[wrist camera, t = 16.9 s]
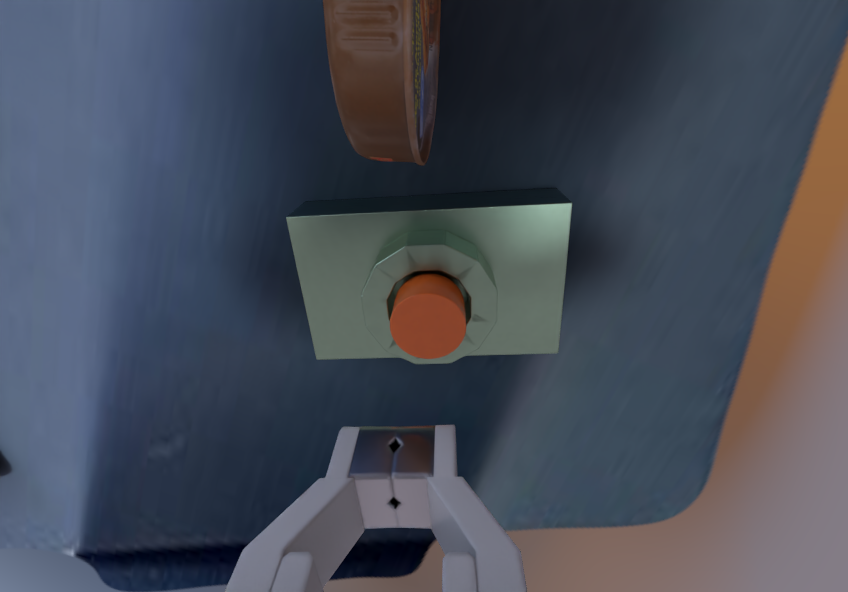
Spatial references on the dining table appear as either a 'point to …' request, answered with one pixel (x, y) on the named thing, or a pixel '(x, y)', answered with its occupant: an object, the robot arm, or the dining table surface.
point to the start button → (428, 316)
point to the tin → (385, 74)
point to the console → (434, 268)
